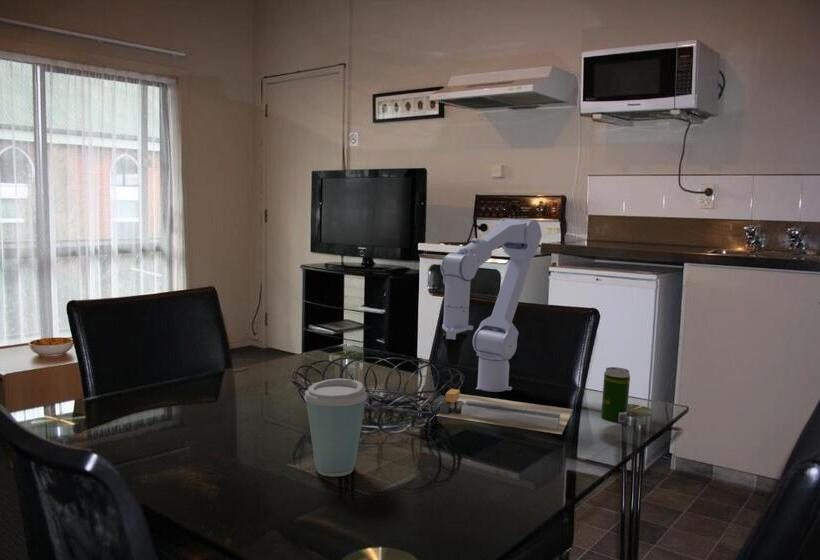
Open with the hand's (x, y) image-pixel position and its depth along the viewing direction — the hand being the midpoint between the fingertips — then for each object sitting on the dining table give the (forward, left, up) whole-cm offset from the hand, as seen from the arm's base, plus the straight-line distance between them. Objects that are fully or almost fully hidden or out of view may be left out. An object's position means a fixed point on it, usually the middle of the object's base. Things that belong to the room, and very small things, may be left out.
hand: (453, 364), depth 164 cm
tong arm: (+8, +14, -8) cm, 18 cm away
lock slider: (+9, +3, -6) cm, 11 cm away
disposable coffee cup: (+48, -7, -10) cm, 49 cm away
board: (+4, +13, -9) cm, 17 cm away
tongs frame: (+9, +12, -8) cm, 17 cm away
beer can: (-3, +36, -10) cm, 37 cm away
